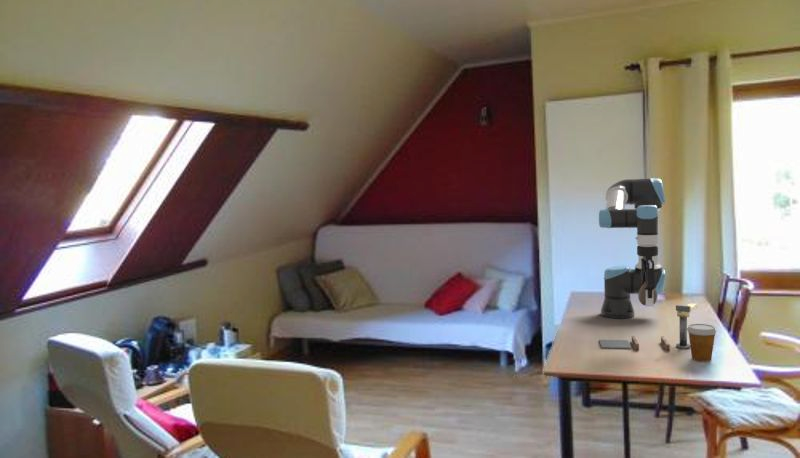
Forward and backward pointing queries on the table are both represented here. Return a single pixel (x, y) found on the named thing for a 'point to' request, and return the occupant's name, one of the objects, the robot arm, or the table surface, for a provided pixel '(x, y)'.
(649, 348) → the table surface
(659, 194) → the robot arm
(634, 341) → the cradle
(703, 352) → the disposable coffee cup
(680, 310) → the latch
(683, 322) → the post
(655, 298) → the vase
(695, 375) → the table surface
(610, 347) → the mat
